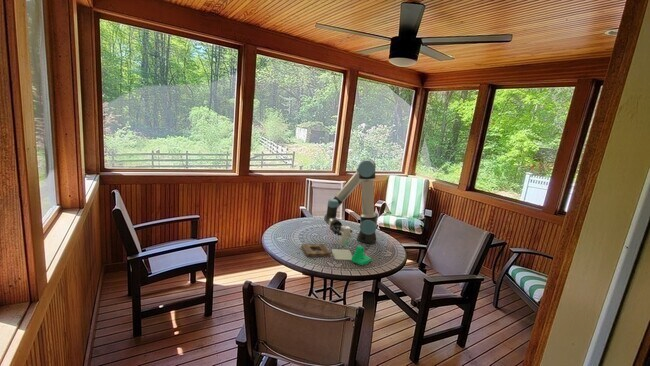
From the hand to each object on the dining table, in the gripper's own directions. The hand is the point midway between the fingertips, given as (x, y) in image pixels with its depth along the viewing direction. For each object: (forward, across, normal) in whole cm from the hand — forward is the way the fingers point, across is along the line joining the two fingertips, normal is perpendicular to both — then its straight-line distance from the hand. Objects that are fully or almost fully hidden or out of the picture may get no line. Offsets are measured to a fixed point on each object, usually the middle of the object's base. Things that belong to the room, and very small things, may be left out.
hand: (347, 236), depth 197 cm
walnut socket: (-12, +16, -16) cm, 26 cm away
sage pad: (-5, 0, -15) cm, 16 cm away
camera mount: (+6, -9, -16) cm, 19 cm away
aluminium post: (-5, 0, -8) cm, 9 cm away
